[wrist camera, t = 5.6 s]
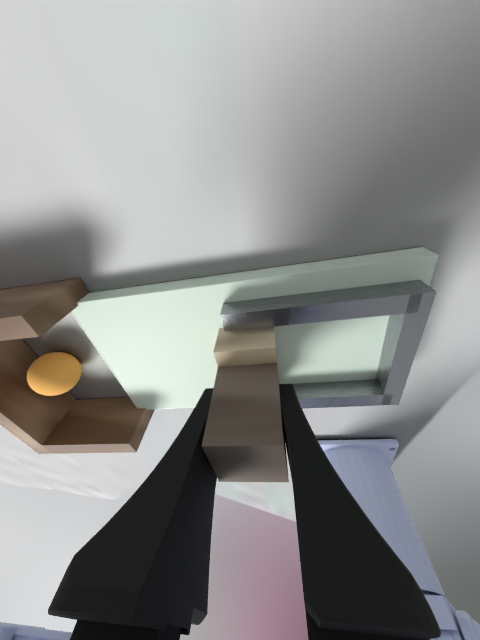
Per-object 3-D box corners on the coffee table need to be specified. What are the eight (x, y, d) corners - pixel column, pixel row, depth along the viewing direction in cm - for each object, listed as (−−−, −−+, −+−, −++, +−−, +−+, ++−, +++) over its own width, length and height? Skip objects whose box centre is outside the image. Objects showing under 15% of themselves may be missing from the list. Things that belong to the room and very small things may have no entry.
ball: (58, 410, 15) (36, 398, 17) (98, 377, 17) (75, 368, 19) (28, 380, 14) (6, 369, 15) (75, 347, 16) (52, 340, 17)
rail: (389, 388, 15) (398, 404, 14) (246, 395, 17) (245, 410, 16) (420, 279, 11) (436, 291, 10) (223, 302, 12) (220, 315, 11)
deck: (386, 384, 17) (394, 398, 16) (144, 397, 20) (138, 410, 19) (423, 246, 11) (439, 255, 10) (78, 294, 14) (65, 304, 13)
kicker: (280, 384, 15) (289, 491, 10) (235, 386, 16) (224, 490, 11) (273, 322, 12) (281, 429, 7) (219, 328, 13) (193, 431, 8)
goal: (156, 404, 20) (136, 452, 17) (72, 408, 21) (38, 453, 18) (79, 277, 13) (21, 315, 10) (-35, 294, 15) (-120, 333, 11)
